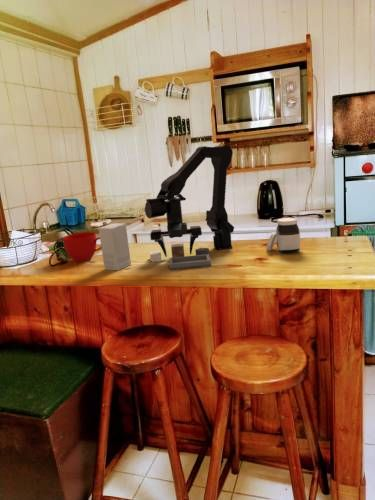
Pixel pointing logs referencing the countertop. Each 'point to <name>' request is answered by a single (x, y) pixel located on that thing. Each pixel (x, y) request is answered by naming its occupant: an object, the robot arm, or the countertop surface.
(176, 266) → the charcoal tray
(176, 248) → the walnut block
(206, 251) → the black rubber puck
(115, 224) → the skincare box
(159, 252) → the off-white plastic block
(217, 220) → the robot arm
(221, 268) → the countertop surface
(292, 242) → the spread jar
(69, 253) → the ceramic cup
